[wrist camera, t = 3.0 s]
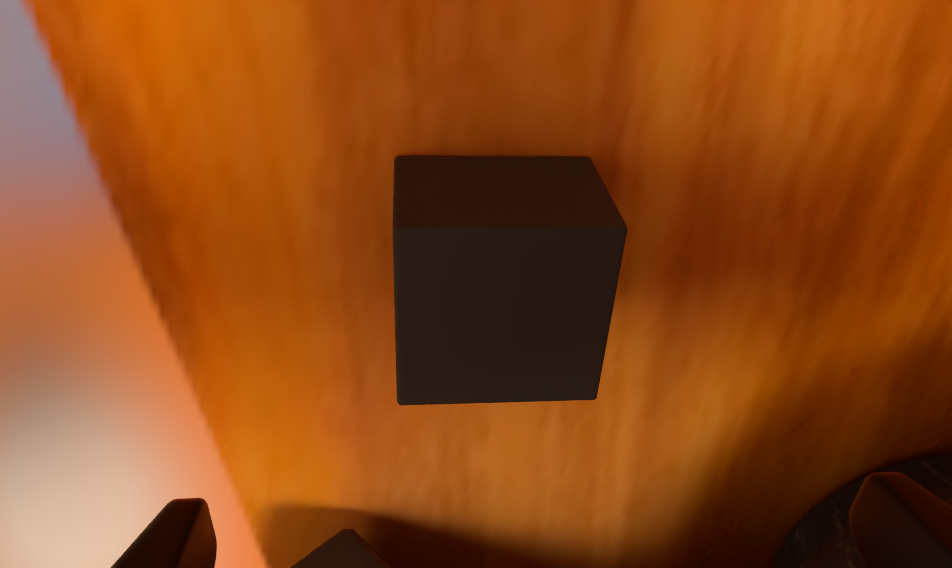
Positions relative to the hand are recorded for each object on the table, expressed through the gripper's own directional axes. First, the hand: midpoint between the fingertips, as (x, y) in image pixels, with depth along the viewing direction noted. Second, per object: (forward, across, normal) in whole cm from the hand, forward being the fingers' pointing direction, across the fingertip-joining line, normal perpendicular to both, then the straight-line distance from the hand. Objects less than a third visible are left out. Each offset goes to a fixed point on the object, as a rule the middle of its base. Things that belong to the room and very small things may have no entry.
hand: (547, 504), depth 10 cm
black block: (+7, 0, 0) cm, 7 cm away
